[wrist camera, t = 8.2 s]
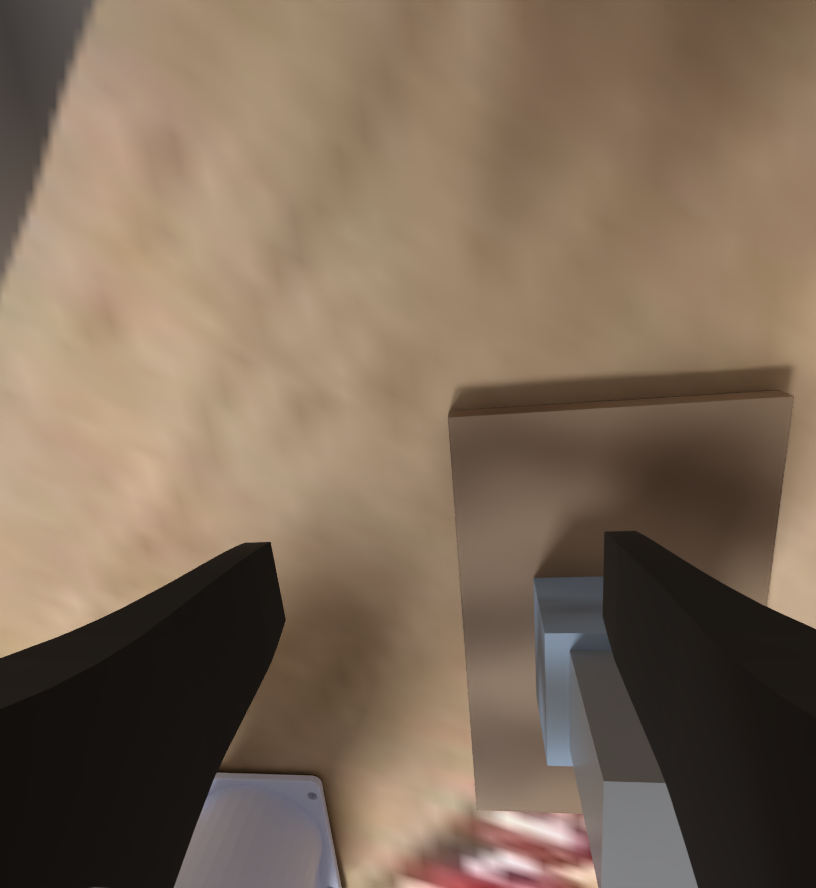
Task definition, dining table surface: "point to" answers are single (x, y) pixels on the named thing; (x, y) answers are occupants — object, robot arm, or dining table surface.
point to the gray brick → (621, 783)
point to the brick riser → (591, 549)
